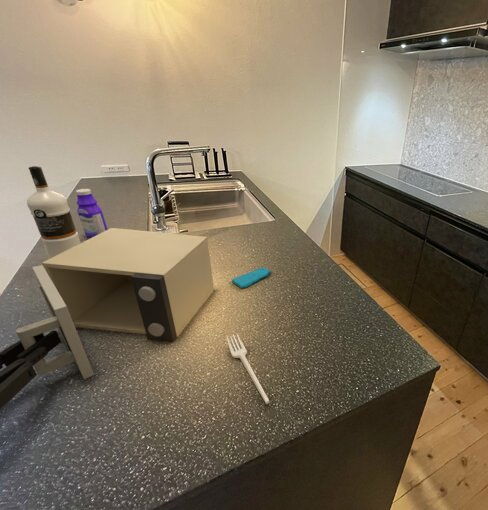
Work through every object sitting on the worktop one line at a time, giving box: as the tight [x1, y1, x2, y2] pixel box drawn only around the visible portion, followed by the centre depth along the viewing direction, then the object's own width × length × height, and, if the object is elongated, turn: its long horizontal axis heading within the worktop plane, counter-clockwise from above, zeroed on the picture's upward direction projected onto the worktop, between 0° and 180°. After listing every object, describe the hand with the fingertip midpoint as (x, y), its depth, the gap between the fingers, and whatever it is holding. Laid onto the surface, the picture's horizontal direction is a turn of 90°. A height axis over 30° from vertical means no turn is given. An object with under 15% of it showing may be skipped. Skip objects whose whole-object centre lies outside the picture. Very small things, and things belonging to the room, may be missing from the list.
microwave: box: [41, 227, 215, 343], centre depth 75 cm, size 22×26×17 cm
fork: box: [226, 332, 271, 405], centre depth 64 cm, size 3×20×2 cm, turn 36°
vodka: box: [26, 165, 82, 260], centre depth 88 cm, size 9×9×30 cm
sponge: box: [231, 267, 272, 289], centre depth 95 cm, size 2×12×6 cm
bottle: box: [75, 188, 108, 239], centre depth 110 cm, size 7×6×17 cm
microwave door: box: [15, 264, 95, 380], centre depth 59 cm, size 7×20×17 cm, turn 49°
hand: (49, 335), depth 57 cm, fingers open, 2 cm apart
